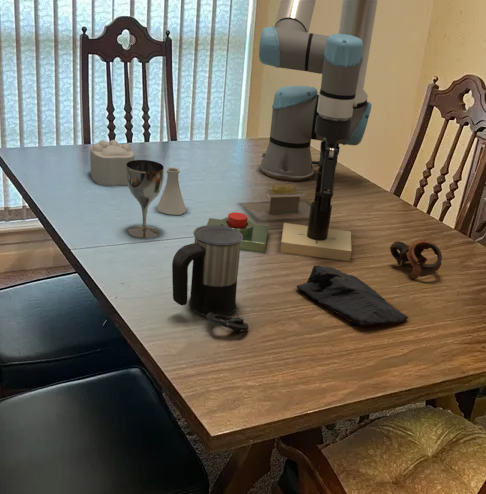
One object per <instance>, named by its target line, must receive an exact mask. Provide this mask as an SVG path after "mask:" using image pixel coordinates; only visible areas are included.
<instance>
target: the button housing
mask: <svg viewBox="0 0 486 494" xmlns="http://www.w3.org/2000/svg"><path fill="white" fill-rule="evenodd" d="M207 225H219V226H226V227H229V228H232V229H235V230H237V231H239V232H240V233H241V234H242V236H243V239H242V241H241V244H240V251H241V250H242V251H250V252H256V253H257V252H258V253H265V251H266V245H267V239H268V235H269V225H266V224H258V223H254V222H253V221H251V220H250V219H247V226H245V227H233V226H230V225H228V216H227V217H224V218H222V219H220V218H211V217H209V218H208V221H207V224H206V226H207Z"/></svg>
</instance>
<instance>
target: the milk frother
mask: <svg viewBox="0 0 486 494" xmlns="http://www.w3.org/2000/svg"><path fill="white" fill-rule="evenodd" d="M192 233H193V237H194V242H193V243H189V244H186V245H183V246H181V247H180V248H179V249H178V250H177V251H176V253H175V254H174V256H173V258H172V263H171V271H172V272H171V274H172V276H171V277H172V279H171V280H172V299H173V301H174V302H175V304H177V305H179V306H185V305H187V304H188V306H189V308H190V310H192V311H193V312H195V313H197V314H200V315H202V316H206V319H207V320H209V321H210V322H212V323H214V324H216V325H220V326H222V327H225V328H228V329H230V330H232V331H234V332H237V333H241V332H242V331H243V332H246V331H248V330H249V328H250V327H249V326H250V325H249V324H248V321H246V320H244V319H243V318H242V317H239V316H236V317H233V316H229V315H232V314H234V313H235V312H236V310H237V306H238V305H237V302H236V301H237V286H238V275H239V265H240V254H241V249H240V244H241V241H242V239H243V236H242V234H241V233H240V232H239V231H237V230H235V229H232V228H229V227H226V226H219V225H207V224H206V225H201V226H198V227H196V228H195V229H194V230H193V232H192ZM191 263H192V267H191V268H192V270H191V286H190V297H189V300H188V295H189V294H188V291H189V290H188V288H189V287H188V286H189V285H188V282H189V272H188V271H189V266H190V264H191Z"/></svg>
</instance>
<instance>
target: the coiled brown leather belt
mask: <svg viewBox="0 0 486 494" xmlns="http://www.w3.org/2000/svg"><path fill="white" fill-rule="evenodd" d="M389 249H390V250H389V251H390V255H391V256H392V257H393V258H394V259H395V261H396V263H397V265H398V266H401V265H404V264H406V263H409V264H410V266H411V267H412V268H413V269H412V271H411V272H410V273H409V277H410V278H411V279H413V280H417V279H418V278H419V277H420V278H422V277H428V276H431V275H434V274H436V272H438V271H439V270H440V268H441V266H442V260H443V254H442V251H441V250H440V248H439V247H438V246H437V245H436V244H435V243H432V242H431V241H427V240H417V241H415V242H414V243H413V242H412V243H411V244H406V243H405V242H403V241H401V240H400V241H399V240H397V241H394V242H392V244H391V245H390V247H389ZM429 249H431V250H432V251H433V253H434V254H435V255H436V257H437V260H436V261H435V262H433V263H430V264H429V263H427V261H428V258H427V257H426V256H424V255H423V254H422V253H423V252H424V250H429Z"/></svg>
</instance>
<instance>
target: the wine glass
mask: <svg viewBox="0 0 486 494" xmlns="http://www.w3.org/2000/svg"><path fill="white" fill-rule="evenodd" d="M164 171H165V169H164V165H163V164H161V163H159V162H157V161H154V160H148V159H134V161H130V162H128V163H127V164H126V174H127V183H128V185H127V187H128V190H129V192H130V194H131V195H132V196H133V197H134V199H135V200H136V201H138V203H139V205H140V208H141V214H142V225H134V226H131V227H129V229H128V233H129V234H130V235H131V236H133V237H136V238H139V239H140V238H142V239H150V238H155V237H159V236H160V234H161V231H160V229H158V228H156V227H154V226H150V225H147V216H148V215H147V214H148V209H149V207H150V204H151V203H152V202H153V201H154V200H155V199H156V198H157V197H158V196H159V195H160V193H161V190H162V187H163V183H164Z"/></svg>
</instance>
